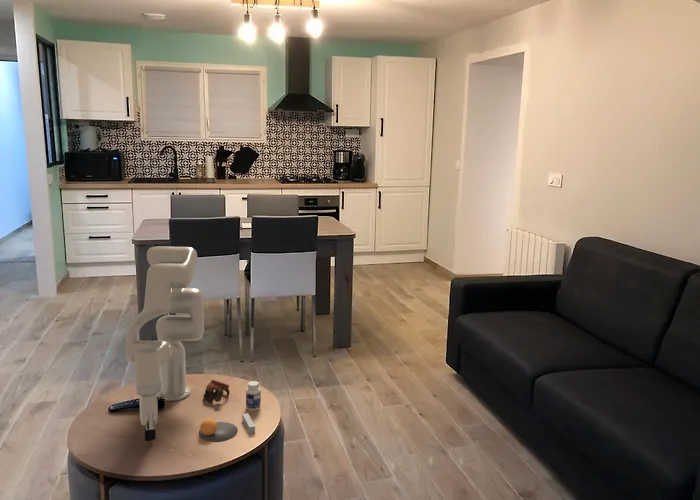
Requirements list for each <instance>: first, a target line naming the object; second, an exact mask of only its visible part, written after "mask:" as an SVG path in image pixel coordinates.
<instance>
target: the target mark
mask: <svg viewBox="0 0 700 500" xmlns="http://www.w3.org/2000/svg"><path fill="white" fill-rule="evenodd" d="M215 422H216V424H217V429H216V431H215V433H214V434H212V435H209V436H207V435H204V434H203V433H202V432H201V430H200V429H199V430H198V436H199V437H200V439H202V440H204V441H207V442H211V443H213V442H214V443H217V442H218V443H219V442H220V443H221V442H225V441H227V440H230V439H232V438H234V437H235V436H236V435H237V434H238V431H239V429H238V427H237V426H236V425H235V424H233V423H230V422H227V421H215Z"/></svg>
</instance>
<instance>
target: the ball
mask: <svg viewBox="0 0 700 500" xmlns="http://www.w3.org/2000/svg"><path fill="white" fill-rule="evenodd" d="M216 422H217V421H215V420H214V419H213V418H206V419H204V420H203V421H201V423H200V426H199V427H200V428H199V430H201V432H202V433H203V434H204V435H207V436H209V435H212V434H214V433H215V431H216V429H217V424H216Z"/></svg>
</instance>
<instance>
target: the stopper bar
mask: <svg viewBox="0 0 700 500" xmlns="http://www.w3.org/2000/svg"><path fill="white" fill-rule="evenodd" d="M242 422H243V423H242V424H243V425H244V426H245V428H246V430H247V432H248V435H252V434H256V425H255V424H254V421H253V420H252V418H251V416H250V413H248V412H247V413H242Z"/></svg>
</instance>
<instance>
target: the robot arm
mask: <svg viewBox="0 0 700 500" xmlns="http://www.w3.org/2000/svg"><path fill="white" fill-rule="evenodd" d="M146 260H147V262H148V264H149V265H150V266H149V267H148V269H147V272H146V281H145V282H146V283H145V290H144V292H145V294H144V305H143V309H142V310H141V312H139V313H138V315H136V316H135V318H134V319H133V320H132V321H131V324H130V326H128V327H129V328H128V330H127V334H126V342H125V358H126V361H127V362H129V363H131V364H134V365H135V368H134V369H135V392H136V395H137V396H139V420H140V425H141V426H143V427H144V440H145V441H146V442H151V441H156V439H157V437H156V436H157V435H156V426H155V425H156V424H157V423H158V415H159V413H158V410H159V408H158V406H159V405H158V404H159V403H158V398H157V397H164V399H165V400H164V401H165V402H175V401H180V400H183V399H185V398H187V397H188V396H190V395H191V387H189V386H187V375H186V374H187V373H186V372H187V371H186V370H187V369H186V368H187V367H186V366H187V365H186V349H185V346H184V345H183V343H182V342H185V341H187V342H194V341H200V340H202V339H203V337H204V334H205V333H204V332H205V313H204V312H205V308H204V307H205V306H204V296H203V293H202V291H201V290H200V289H198V288H197V287H195V288H194V287H190V285H191V283H192V280H193V277H194V273H195V270H196V267H197V263H198V253H197V251H196V249H194V248H193V247H190V246H168V245H167V246H164V245H161V246H160V245H159V246H151V247H149V249H147V252H146ZM166 314H173V315H166ZM174 314H175V315H174ZM176 314H177V315H176ZM178 314H180V315H178ZM182 314H189V315H182ZM163 315H164V316H163ZM158 317H159V318H158ZM155 318H158V320H157V321H156V324H155V332H156V338H157V340H145V339H144V340H138V335H139V332H140V330H141V329H142V327H143V326H144V325H145V324H147V323H148V322H149V321H151V320H153V319H155Z"/></svg>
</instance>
